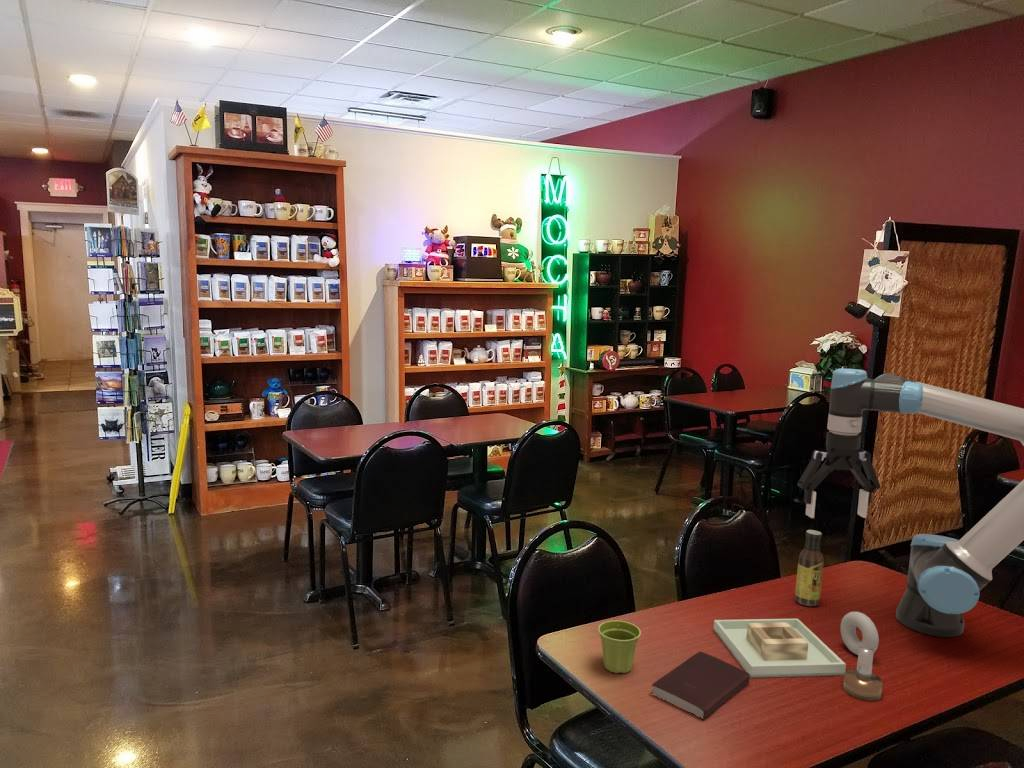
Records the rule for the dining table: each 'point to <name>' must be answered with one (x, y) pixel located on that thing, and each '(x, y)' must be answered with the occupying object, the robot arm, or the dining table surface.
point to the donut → (866, 628)
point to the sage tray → (817, 662)
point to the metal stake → (863, 678)
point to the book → (701, 684)
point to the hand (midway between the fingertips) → (835, 516)
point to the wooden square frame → (777, 641)
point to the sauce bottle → (810, 570)
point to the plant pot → (618, 644)
